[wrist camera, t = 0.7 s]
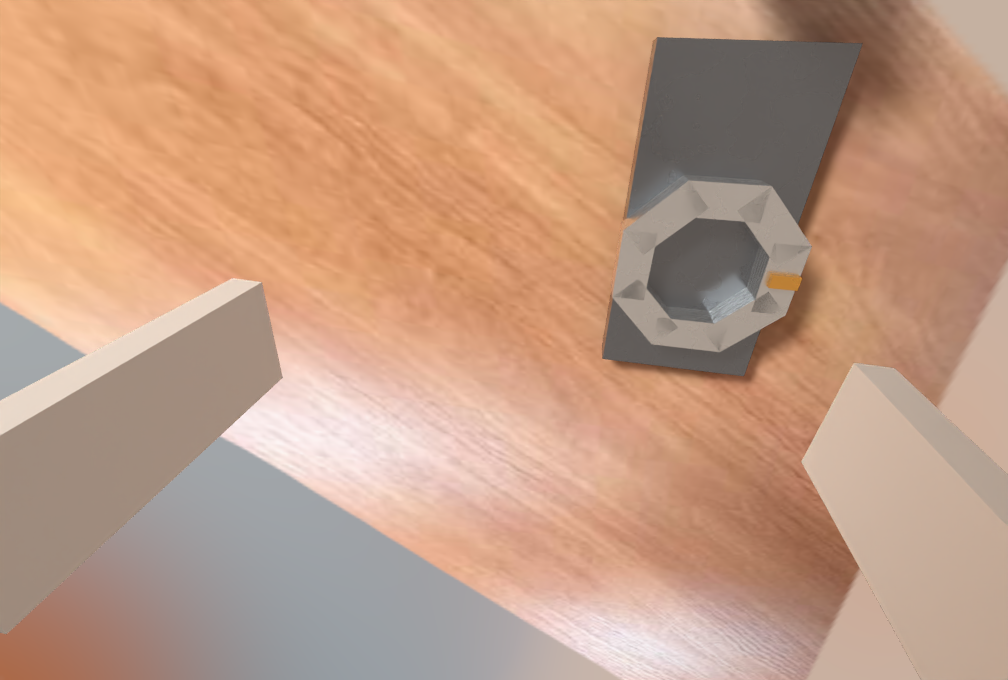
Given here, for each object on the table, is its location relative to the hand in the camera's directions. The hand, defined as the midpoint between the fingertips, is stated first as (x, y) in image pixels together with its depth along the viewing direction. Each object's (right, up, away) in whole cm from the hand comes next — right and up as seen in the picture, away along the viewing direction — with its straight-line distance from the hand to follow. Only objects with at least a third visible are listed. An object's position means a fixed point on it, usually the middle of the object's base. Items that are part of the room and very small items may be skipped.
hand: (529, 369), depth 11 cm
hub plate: (+12, +8, +19) cm, 25 cm away
